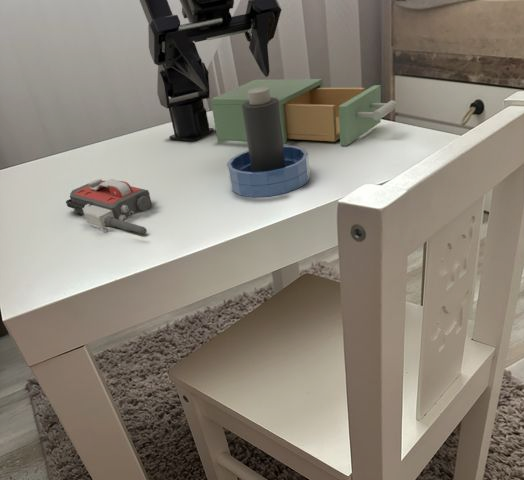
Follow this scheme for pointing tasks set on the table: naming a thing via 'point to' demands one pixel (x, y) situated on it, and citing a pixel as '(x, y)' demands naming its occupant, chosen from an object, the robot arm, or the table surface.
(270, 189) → the bowl
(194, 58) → the robot arm
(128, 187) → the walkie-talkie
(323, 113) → the drawer
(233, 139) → the cabinet
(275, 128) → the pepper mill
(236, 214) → the table surface
